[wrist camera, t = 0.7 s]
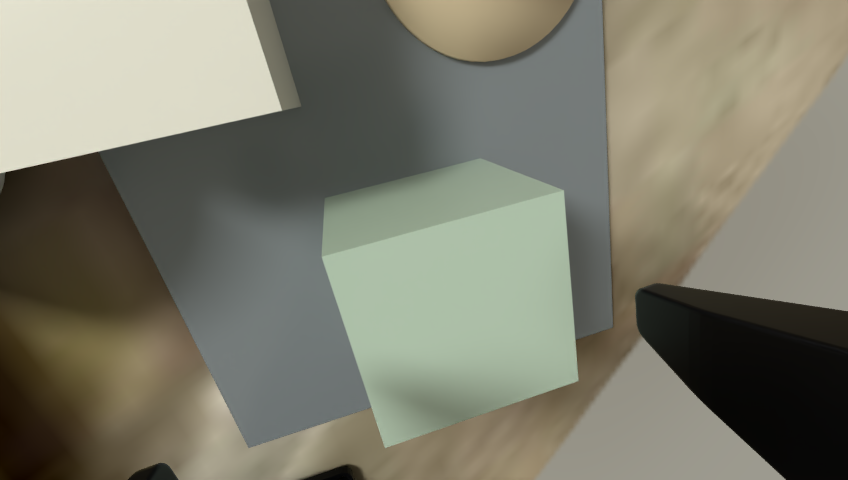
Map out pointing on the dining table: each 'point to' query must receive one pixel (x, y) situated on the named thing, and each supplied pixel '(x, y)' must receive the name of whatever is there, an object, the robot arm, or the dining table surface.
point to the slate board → (348, 171)
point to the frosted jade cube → (452, 293)
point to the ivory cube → (132, 72)
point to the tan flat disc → (479, 25)
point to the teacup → (2, 181)
